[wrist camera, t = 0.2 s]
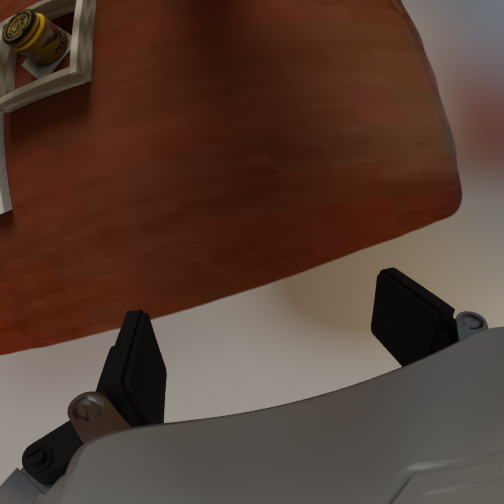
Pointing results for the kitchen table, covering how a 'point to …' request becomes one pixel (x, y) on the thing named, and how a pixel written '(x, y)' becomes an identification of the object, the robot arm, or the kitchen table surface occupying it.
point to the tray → (3, 173)
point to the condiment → (37, 41)
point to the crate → (80, 71)
